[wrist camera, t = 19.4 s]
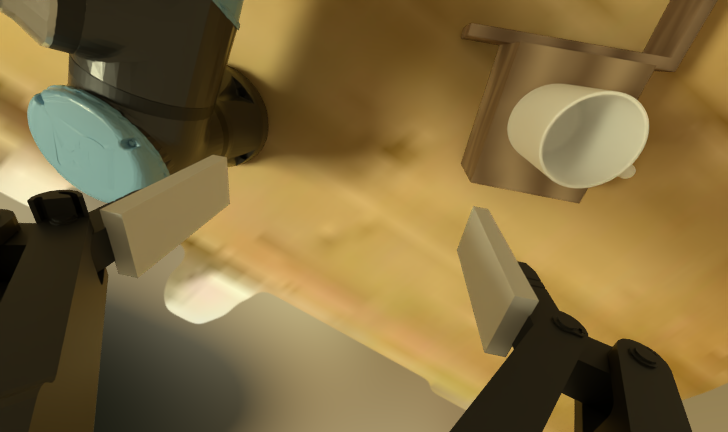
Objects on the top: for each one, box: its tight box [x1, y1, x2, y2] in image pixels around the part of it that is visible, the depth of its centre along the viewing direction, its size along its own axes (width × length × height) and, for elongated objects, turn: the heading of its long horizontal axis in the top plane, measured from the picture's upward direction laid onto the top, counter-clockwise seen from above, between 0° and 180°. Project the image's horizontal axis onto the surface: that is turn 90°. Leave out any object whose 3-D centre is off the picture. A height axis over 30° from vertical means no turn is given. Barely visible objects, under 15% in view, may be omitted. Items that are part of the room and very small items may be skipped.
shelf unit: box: [461, 0, 717, 203], centre depth 34 cm, size 23×34×8 cm
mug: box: [507, 84, 649, 188], centre depth 30 cm, size 12×8×10 cm
